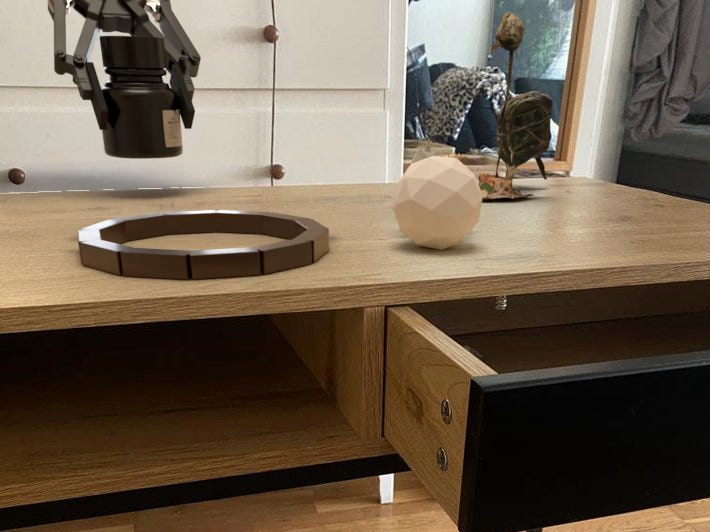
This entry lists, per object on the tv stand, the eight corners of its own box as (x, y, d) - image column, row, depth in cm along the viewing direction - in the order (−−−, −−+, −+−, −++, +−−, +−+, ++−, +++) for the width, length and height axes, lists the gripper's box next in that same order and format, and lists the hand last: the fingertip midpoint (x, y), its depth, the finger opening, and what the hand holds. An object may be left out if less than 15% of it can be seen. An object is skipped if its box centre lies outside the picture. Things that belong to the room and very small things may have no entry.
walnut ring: (83, 287, 55) (79, 262, 54) (79, 235, 72) (76, 215, 71) (356, 268, 61) (356, 245, 60) (292, 224, 78) (292, 206, 77)
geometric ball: (411, 278, 70) (360, 203, 68) (460, 235, 73) (413, 162, 71) (464, 248, 63) (409, 164, 61) (515, 203, 67) (464, 122, 65)
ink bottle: (192, 159, 86) (183, 37, 81) (112, 161, 83) (96, 34, 77) (172, 152, 94) (162, 40, 89) (98, 153, 91) (83, 37, 85)
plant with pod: (558, 202, 94) (582, 11, 84) (467, 202, 93) (481, 10, 83) (538, 193, 101) (558, 16, 91) (454, 193, 100) (465, 15, 90)
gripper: (-6, -79, 81) (44, 93, 76) (191, -60, 91) (247, 94, 86) (-2, -15, 88) (45, 146, 83) (182, -4, 97) (233, 142, 92)
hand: (147, 120), depth 84 cm, fingers closed on ink bottle, 9 cm apart
